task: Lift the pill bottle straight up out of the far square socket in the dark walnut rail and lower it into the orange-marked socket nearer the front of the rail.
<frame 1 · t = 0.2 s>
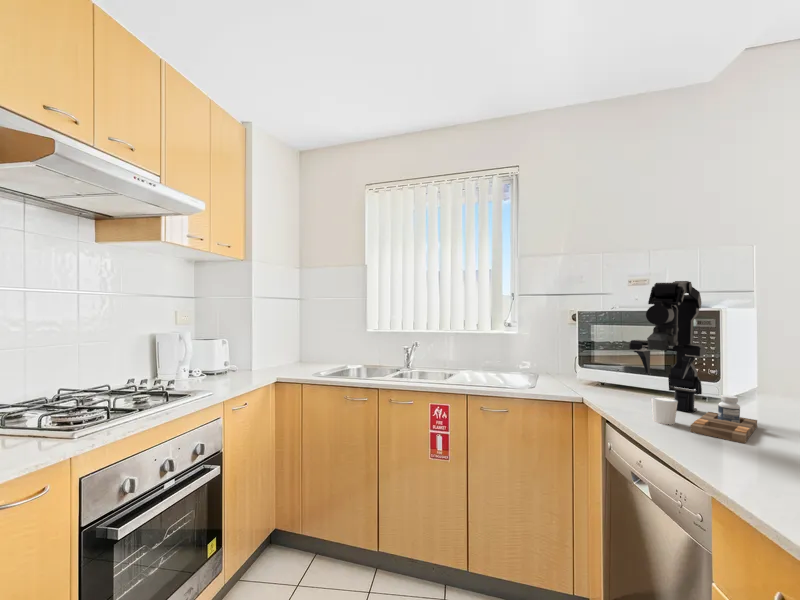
hand: (664, 376, 126), 14 cm above the countertop, tool pointing down, fingers open, 9 cm apart
white cylinder: (663, 422, 128), on the countertop
pill bottle: (728, 426, 127), resting in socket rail
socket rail: (724, 429, 122), on the countertop
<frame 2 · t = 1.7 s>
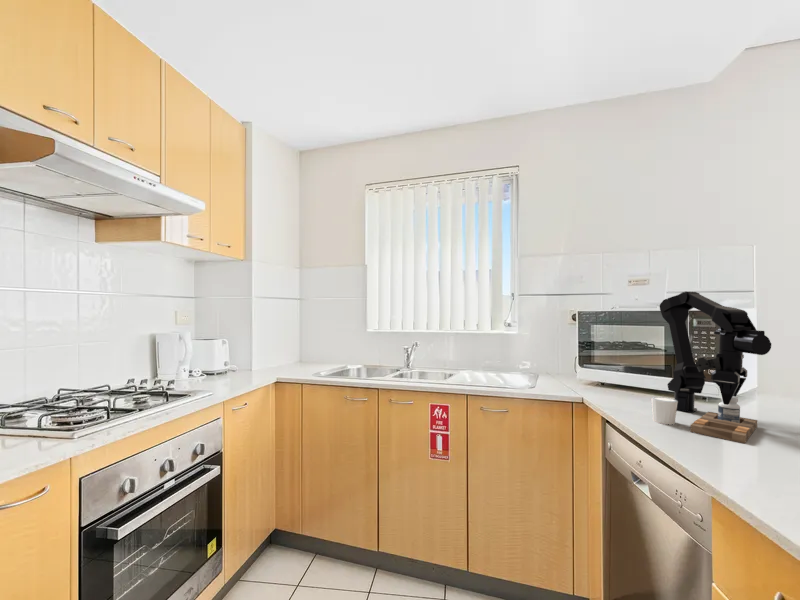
hand: (728, 402, 127), 7 cm above the countertop, tool pointing down, fingers open, 9 cm apart
nothing on the countertop moved.
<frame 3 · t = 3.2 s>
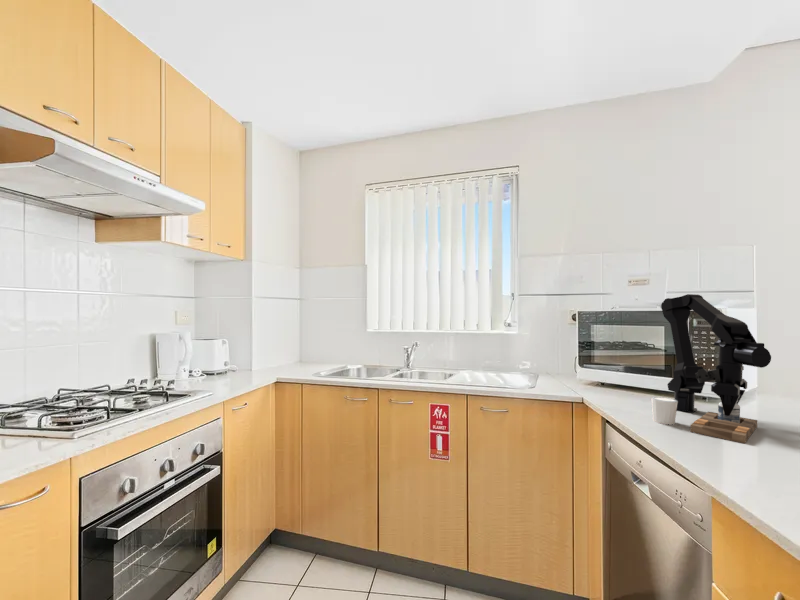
hand: (728, 413, 127), 4 cm above the countertop, tool pointing down, fingers closed on pill bottle, 5 cm apart
pill bottle: (728, 426, 127), resting in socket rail, touching gripper
everything else where it was.
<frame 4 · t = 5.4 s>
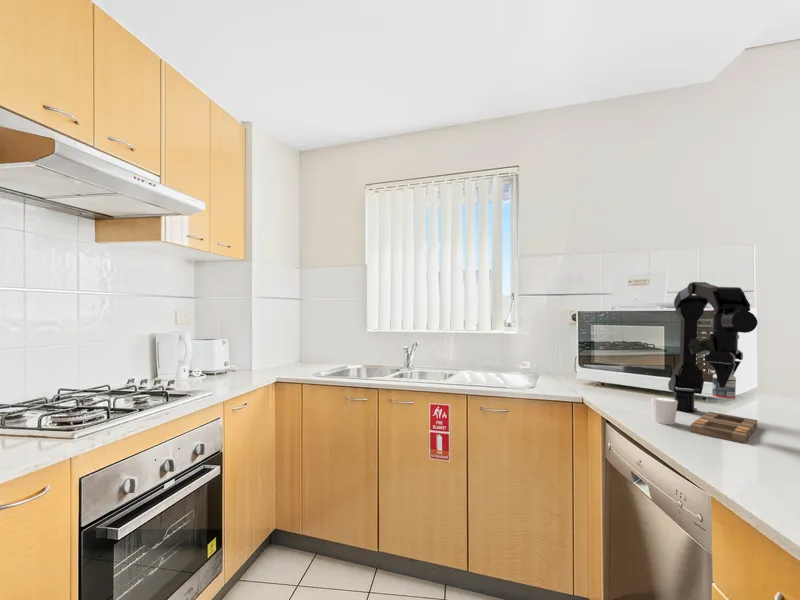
hand: (723, 386, 119), 13 cm above the countertop, tool pointing down, fingers closed on pill bottle, 5 cm apart
pill bottle: (723, 399, 119), point 10 cm above the countertop, touching gripper
everything else where it was.
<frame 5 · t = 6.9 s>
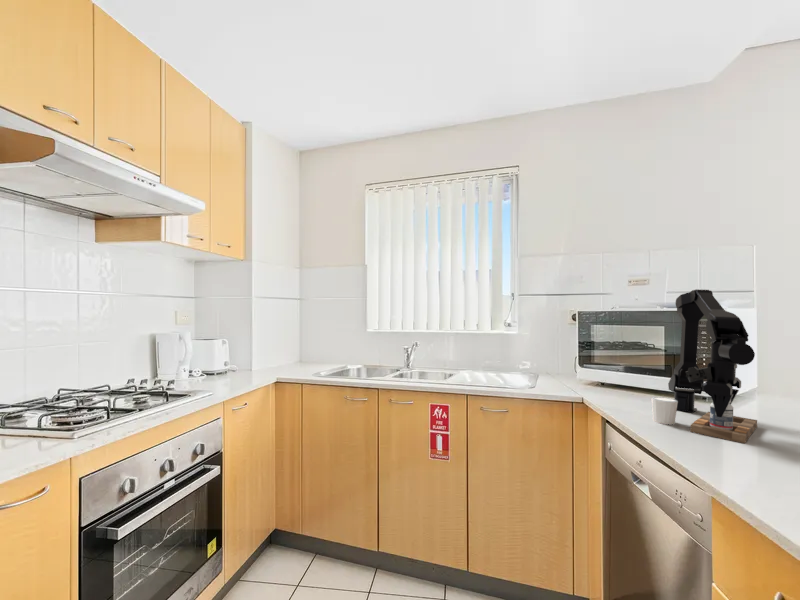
hand: (721, 415, 118), 5 cm above the countertop, tool pointing down, fingers closed on pill bottle, 5 cm apart
pill bottle: (721, 428, 118), point 1 cm above the countertop, touching gripper
everything else where it was.
when the fingers open (4 cm above the countertop, at t = 7.9 s): pill bottle stays where it is, resting in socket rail.
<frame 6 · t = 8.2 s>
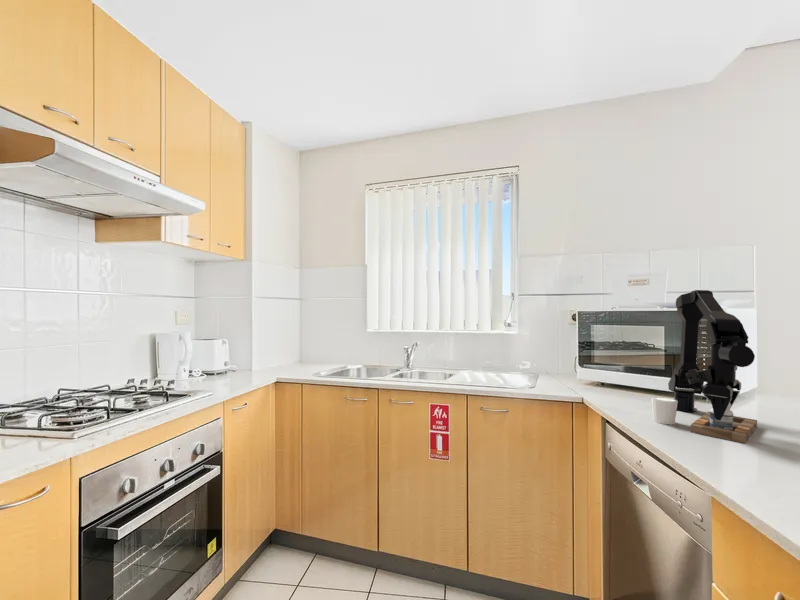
hand: (721, 417, 118), 4 cm above the countertop, tool pointing down, fingers open, 9 cm apart
pill bottle: (720, 433, 118), resting in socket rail
everything else where it was.
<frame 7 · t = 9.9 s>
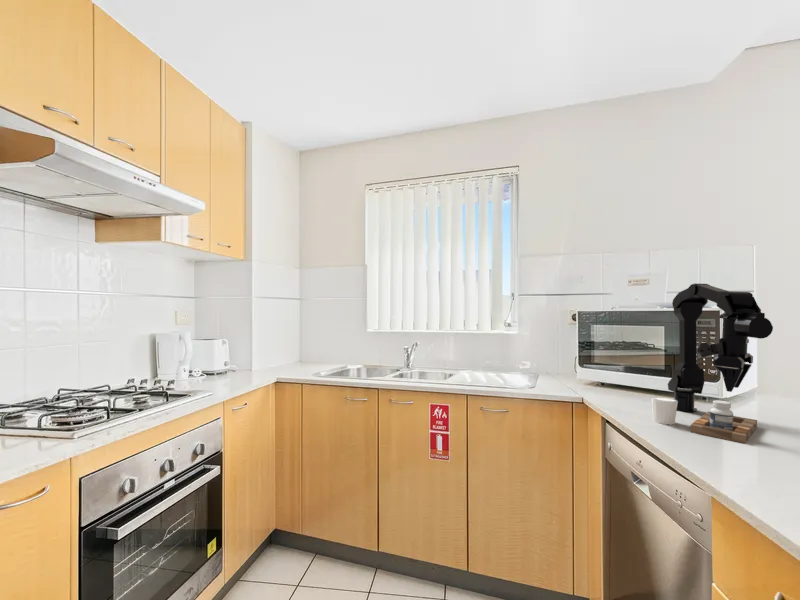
hand: (732, 389, 120), 12 cm above the countertop, tool pointing down, fingers open, 9 cm apart
nothing on the countertop moved.
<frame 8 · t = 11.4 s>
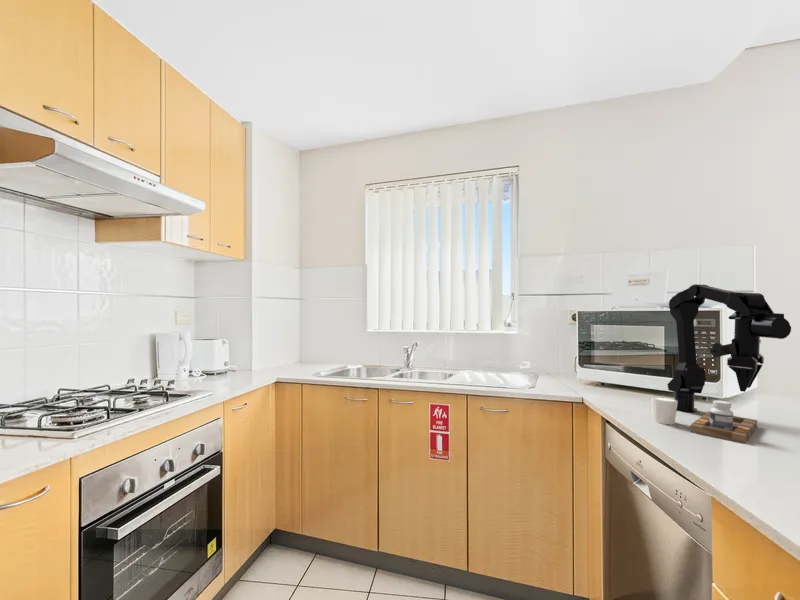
hand: (745, 389, 122), 12 cm above the countertop, tool pointing down, fingers open, 9 cm apart
nothing on the countertop moved.
at the end: pill bottle 0.0 cm from the target spot, resting in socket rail; pill bottle tilted 0°; the gripper is holding nothing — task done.
